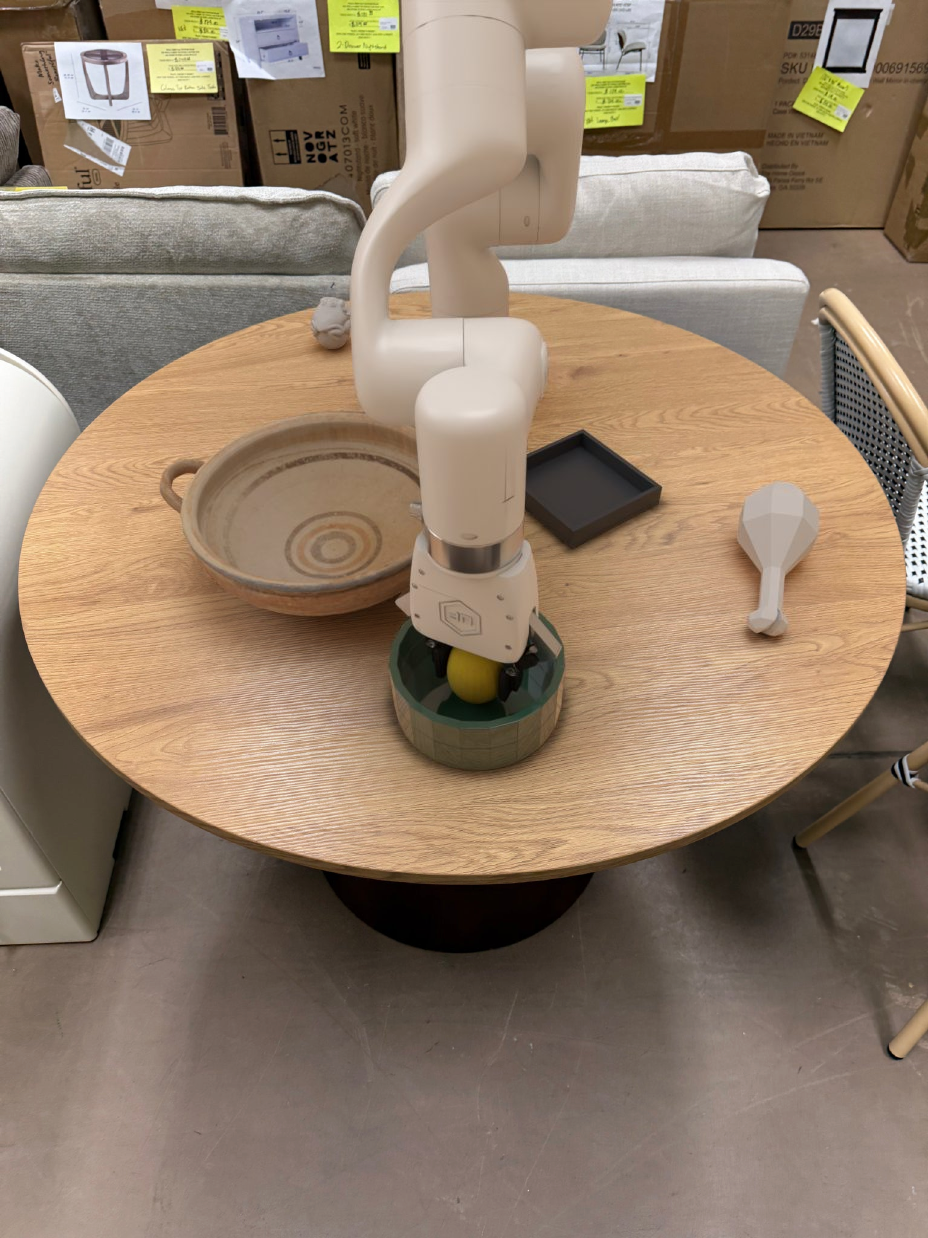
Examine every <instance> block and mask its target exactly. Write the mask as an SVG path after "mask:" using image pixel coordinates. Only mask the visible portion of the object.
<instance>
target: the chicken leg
mask: <svg viewBox="0 0 928 1238" xmlns="http://www.w3.org/2000/svg"><path fill="white" fill-rule="evenodd" d="M737 525H738V526H737V533H736V536H737V537H736V541H737V543H738V544H739V545H740V547H741V548H742V549H743V550H744V552H745V553H746V555H747V556H748V557H749V559H750V560H751V562H752V563H753V565H754V566H755V567H756V569H757V570H758V571H759V572H760V574H761V575H760V584H759V596H758V606H757V609H755V610H753V611H752V612H749V614H748V617H747V624H746V625H747V628H748V629H749V630H751V631H752V632H753V633H755V634H758V633H762V634H765V635H768V636H772V637H776V636H779V635H782V634H784V633H786V632H787V630H788V627H789V621H788V617H787V616H786V615H785V614H784V612H783V604H784V593H785V592H784V590H785V578H786V576H787V575H788V574H789V573H790V572H791V571H792V570H793V569H794V568H795V567H796V566H798V564H799V563H801V561H803V560H804V559H805V558H807V556H808V555H809V554H810V553H811V552H812V550H813V548H814V545H815V543H816V541H817V538H818V536H819V533H820V532H819V529H820V509H819V508H818V507H817V506H816V504H814V503H813V501H812V500H811V499H810V498H809V497H808V496H807V495H806V493H805V492H804V491H803V490H802V489H800V488H799V486H798V485H796V484H795V483H793V482H787V481H781V480H780V481H779V480H776V481H773V482H771V483H768V484H765V485H762V486H761V487H760V488H758V489H757V490H755V491H754V492H753V493H751V494H749V495H748V496H746V497H745V498H744V501H743V505H742V508H741V510H740V514H739V517H738V524H737Z"/></svg>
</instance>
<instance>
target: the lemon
mask: <svg viewBox="0 0 928 1238" xmlns="http://www.w3.org/2000/svg"><path fill="white" fill-rule="evenodd" d="M502 667H503V666H502V663H501V662H498V661H494V660H491V659H488V658H485V657H482V656H479V655H476V654H473V653H471V652H468V651H465V650H462V649H459V648H456V647H453V648H452V650H451V652H450V655H449V658H448V662H447V677H448V681H449V684H450V686H451V688H452V690H453V691H454V693H455V694H456V695H457V696H458V697H459V698H461V699H462V700H464V701H466V702H469V703H473V704H481V703H486V702H489V701H491V700H493V699H494V698H495V697H497V696H498V675H499V672H500V670H501V668H502Z"/></svg>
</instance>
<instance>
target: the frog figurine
mask: <svg viewBox="0 0 928 1238" xmlns="http://www.w3.org/2000/svg"><path fill="white" fill-rule="evenodd" d="M310 330H311V332H312V336H313V337H314V338H315V339H316V341H317V342H318V344H319V345H321V346H322V347H323V348H325V349H328V350H337V349H340V348H341V347H343V346H344V345H345V344H346V343H347V341H348V339H349V337H350V335H351V319H350V306H349V305H348V303H346V301H345V300H344V299H342V298H337V297H335V296H331V297H328V296H323V297H322V298H320V300H319V303H318V305H317V306H316V308H315V310H314V311H313V313H312V315H311V321H310Z"/></svg>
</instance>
